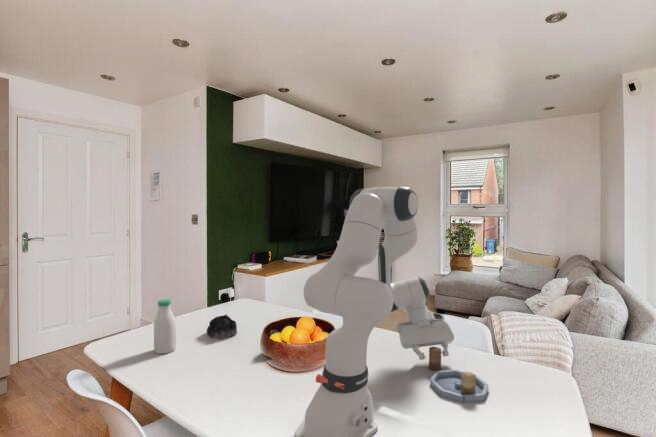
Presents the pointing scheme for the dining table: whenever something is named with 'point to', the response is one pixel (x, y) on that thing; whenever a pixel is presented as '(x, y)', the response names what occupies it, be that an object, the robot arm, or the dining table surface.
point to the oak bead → (468, 383)
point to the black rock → (222, 327)
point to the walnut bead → (434, 358)
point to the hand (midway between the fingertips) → (434, 357)
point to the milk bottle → (164, 329)
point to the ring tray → (457, 386)
